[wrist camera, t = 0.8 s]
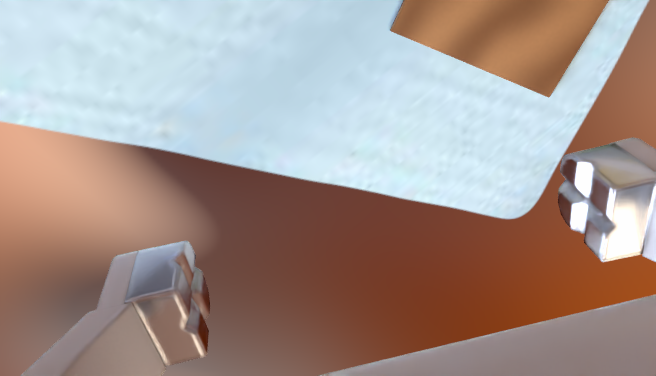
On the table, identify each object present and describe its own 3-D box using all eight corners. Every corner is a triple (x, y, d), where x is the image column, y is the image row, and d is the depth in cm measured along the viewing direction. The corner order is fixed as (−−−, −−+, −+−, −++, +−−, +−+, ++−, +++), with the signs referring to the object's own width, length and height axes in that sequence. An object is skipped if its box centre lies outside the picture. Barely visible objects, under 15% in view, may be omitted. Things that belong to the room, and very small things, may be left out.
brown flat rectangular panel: (389, 30, 49) (391, 31, 48) (451, -104, 44) (453, -104, 44) (547, 96, 56) (549, 97, 56) (614, -13, 51) (616, -13, 51)
